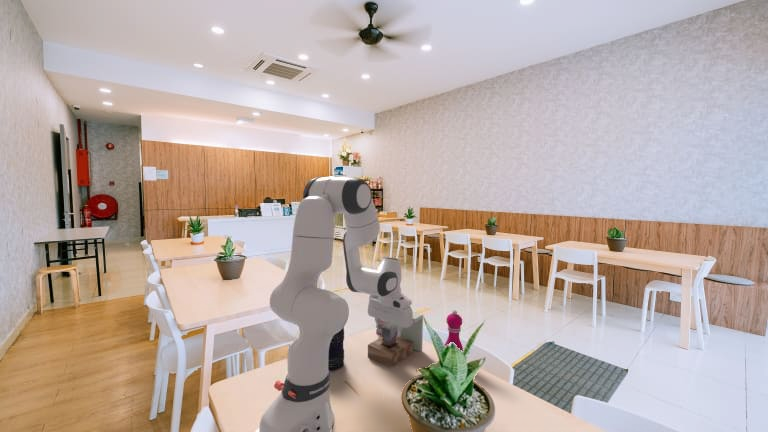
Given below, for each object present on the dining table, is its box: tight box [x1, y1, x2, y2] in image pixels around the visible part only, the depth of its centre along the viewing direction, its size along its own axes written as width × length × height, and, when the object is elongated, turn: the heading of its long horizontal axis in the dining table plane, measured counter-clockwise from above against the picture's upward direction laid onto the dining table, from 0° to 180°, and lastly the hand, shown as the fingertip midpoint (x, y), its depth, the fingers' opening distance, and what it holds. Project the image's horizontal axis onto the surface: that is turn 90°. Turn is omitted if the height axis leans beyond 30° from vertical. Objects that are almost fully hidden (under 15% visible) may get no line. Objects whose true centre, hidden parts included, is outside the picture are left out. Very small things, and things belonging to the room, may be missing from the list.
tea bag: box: [375, 320, 391, 335], centre depth 145 cm, size 4×7×10 cm, turn 87°
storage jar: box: [328, 326, 345, 372], centre depth 117 cm, size 10×10×15 cm
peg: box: [381, 324, 397, 349], centre depth 124 cm, size 4×4×12 cm
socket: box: [367, 336, 414, 369], centre depth 125 cm, size 14×12×5 cm
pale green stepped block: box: [391, 310, 424, 353], centre depth 131 cm, size 6×16×16 cm, turn 51°
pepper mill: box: [444, 309, 464, 352], centre depth 121 cm, size 7×7×20 cm
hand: (388, 332), depth 123 cm, fingers open, 8 cm apart
